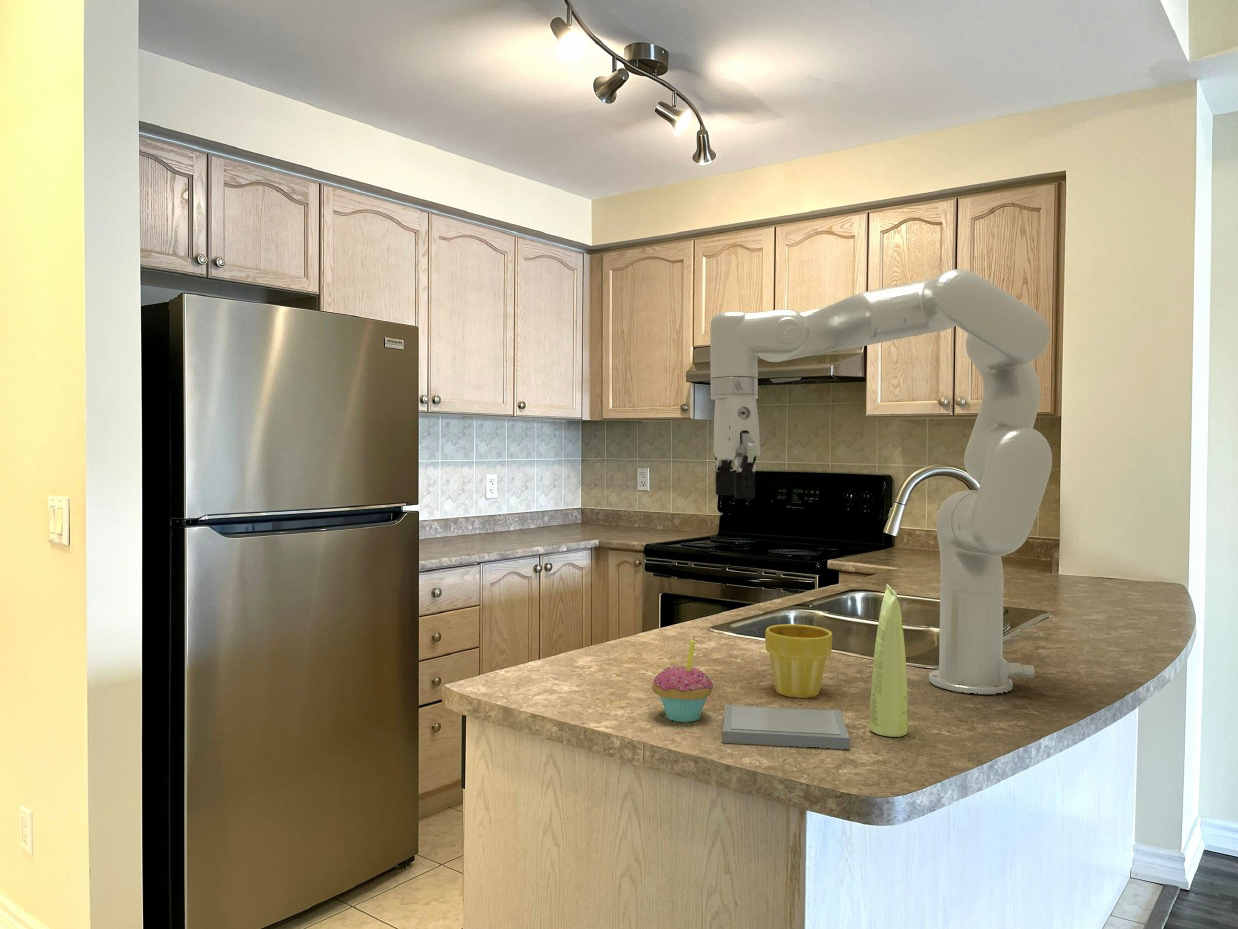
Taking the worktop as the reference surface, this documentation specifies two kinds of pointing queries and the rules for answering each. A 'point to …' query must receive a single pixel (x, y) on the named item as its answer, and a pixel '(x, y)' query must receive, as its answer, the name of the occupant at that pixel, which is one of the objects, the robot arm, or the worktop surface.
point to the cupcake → (683, 690)
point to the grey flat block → (785, 727)
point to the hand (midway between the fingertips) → (734, 496)
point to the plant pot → (798, 658)
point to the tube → (889, 672)
